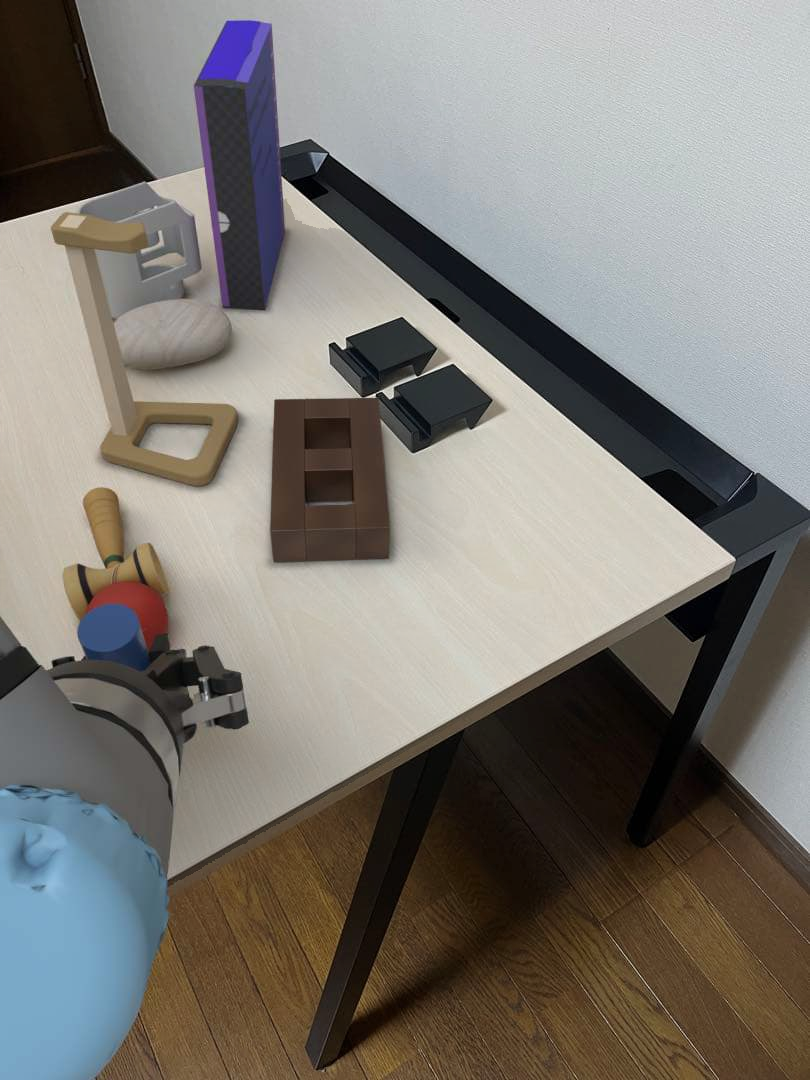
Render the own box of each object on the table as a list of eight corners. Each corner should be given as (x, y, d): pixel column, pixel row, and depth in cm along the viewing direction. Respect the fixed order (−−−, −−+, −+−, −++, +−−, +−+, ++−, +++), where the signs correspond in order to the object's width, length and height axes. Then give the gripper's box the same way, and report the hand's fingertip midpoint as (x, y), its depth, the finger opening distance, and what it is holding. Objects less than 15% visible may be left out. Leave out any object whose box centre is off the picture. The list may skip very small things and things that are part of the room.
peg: (117, 760, 55) (72, 652, 46) (124, 715, 57) (82, 604, 48) (169, 758, 55) (134, 650, 46) (174, 713, 57) (142, 602, 48)
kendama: (53, 538, 76) (77, 686, 64) (47, 478, 73) (71, 622, 60) (144, 528, 79) (185, 668, 67) (143, 470, 76) (185, 606, 63)
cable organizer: (209, 295, 100) (195, 195, 91) (114, 337, 94) (89, 233, 85) (176, 271, 103) (159, 171, 94) (81, 310, 97) (54, 207, 88)
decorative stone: (226, 321, 97) (221, 282, 93) (241, 370, 91) (237, 329, 87) (107, 339, 94) (97, 298, 90) (115, 390, 88) (105, 349, 84)
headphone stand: (209, 489, 79) (171, 272, 63) (93, 472, 80) (25, 254, 64) (241, 415, 86) (214, 203, 70) (134, 400, 87) (83, 187, 71)
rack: (273, 562, 74) (270, 530, 71) (277, 431, 85) (274, 399, 82) (388, 559, 75) (390, 527, 72) (377, 429, 86) (378, 397, 83)
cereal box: (247, 229, 110) (226, 18, 92) (285, 232, 110) (271, 21, 92) (222, 307, 99) (193, 83, 81) (264, 310, 99) (244, 86, 81)
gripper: (-138, 920, 32) (10, 741, 55) (305, 821, 35) (269, 692, 58) (-178, 720, 31) (-12, 624, 54) (276, 638, 34) (252, 581, 57)
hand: (134, 659), depth 56 cm, fingers closed on peg, 3 cm apart
